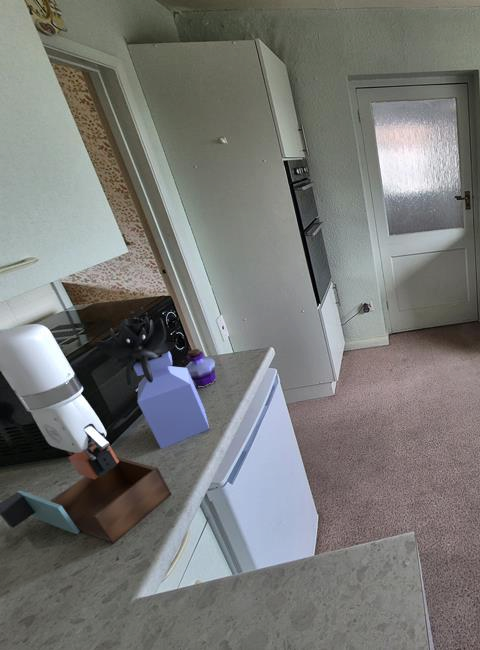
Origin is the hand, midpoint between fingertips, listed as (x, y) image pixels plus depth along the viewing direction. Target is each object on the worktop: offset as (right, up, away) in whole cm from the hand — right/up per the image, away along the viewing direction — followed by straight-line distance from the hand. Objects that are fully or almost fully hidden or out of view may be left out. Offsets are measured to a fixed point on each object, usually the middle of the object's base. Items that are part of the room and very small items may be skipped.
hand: (98, 467), depth 75 cm
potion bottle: (-10, +7, +48) cm, 50 cm away
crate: (+1, -11, +5) cm, 12 cm away
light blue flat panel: (-11, -13, 0) cm, 17 cm away
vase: (-3, -1, +27) cm, 27 cm away
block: (0, 0, 0) cm, 0 cm away
